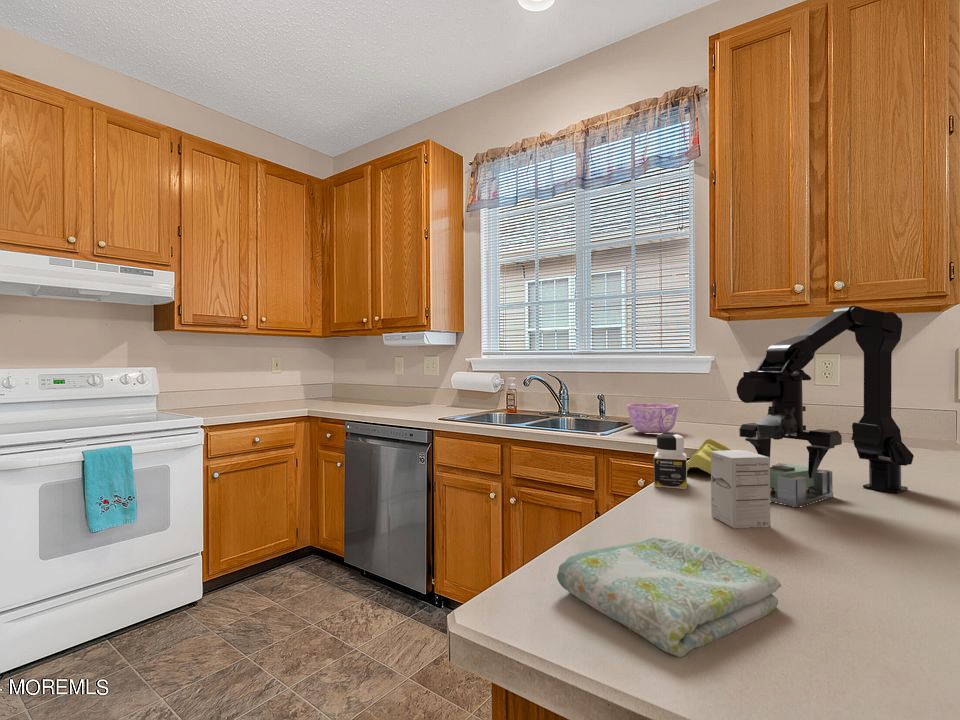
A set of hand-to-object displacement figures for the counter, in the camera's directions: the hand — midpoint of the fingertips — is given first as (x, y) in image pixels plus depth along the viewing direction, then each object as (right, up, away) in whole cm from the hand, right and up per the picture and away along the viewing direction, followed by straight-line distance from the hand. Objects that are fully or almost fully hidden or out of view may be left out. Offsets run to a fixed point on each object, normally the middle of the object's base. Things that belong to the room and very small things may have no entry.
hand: (788, 474), depth 112 cm
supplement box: (-19, -5, -17) cm, 26 cm away
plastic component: (-5, -6, +27) cm, 28 cm away
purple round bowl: (+3, -5, +97) cm, 97 cm away
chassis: (0, -5, 0) cm, 5 cm away
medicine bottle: (-21, -5, +12) cm, 25 cm away
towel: (-43, -6, -47) cm, 64 cm away
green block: (0, -2, 0) cm, 2 cm away
